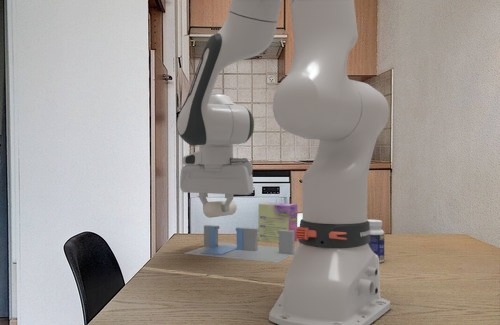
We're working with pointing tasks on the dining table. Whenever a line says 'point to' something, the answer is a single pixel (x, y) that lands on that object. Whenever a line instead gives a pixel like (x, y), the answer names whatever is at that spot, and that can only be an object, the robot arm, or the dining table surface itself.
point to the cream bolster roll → (218, 209)
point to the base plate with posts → (246, 245)
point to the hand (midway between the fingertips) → (216, 211)
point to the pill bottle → (377, 239)
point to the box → (276, 220)
